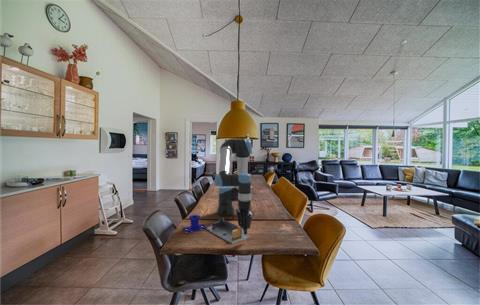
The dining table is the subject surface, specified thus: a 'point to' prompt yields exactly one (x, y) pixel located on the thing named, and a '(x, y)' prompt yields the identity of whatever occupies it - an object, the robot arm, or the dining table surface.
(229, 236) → the plate
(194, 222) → the mount
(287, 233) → the dining table surface
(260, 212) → the dining table surface
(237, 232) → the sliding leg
